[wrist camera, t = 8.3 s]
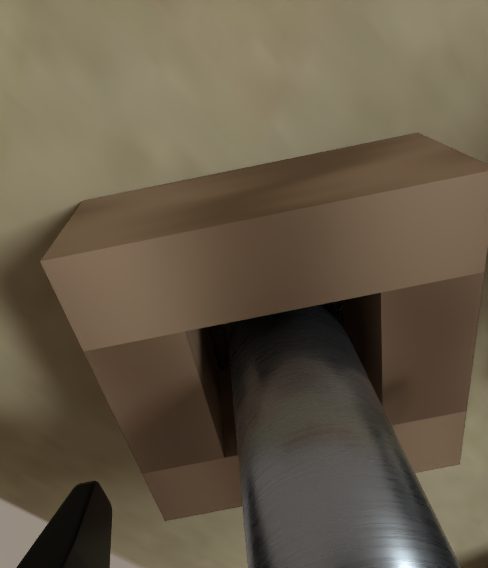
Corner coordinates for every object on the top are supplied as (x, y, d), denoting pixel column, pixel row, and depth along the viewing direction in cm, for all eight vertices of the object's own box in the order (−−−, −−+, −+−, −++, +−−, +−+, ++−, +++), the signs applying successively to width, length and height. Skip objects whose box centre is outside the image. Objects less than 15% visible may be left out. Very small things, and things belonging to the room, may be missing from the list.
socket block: (417, 132, 11) (497, 169, 8) (410, 382, 16) (459, 464, 13) (82, 200, 11) (40, 261, 8) (171, 428, 16) (164, 521, 13)
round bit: (320, 249, 13) (571, 700, 4) (329, 333, 14) (521, 783, 6) (215, 270, 13) (245, 760, 4) (235, 352, 14) (286, 826, 6)
